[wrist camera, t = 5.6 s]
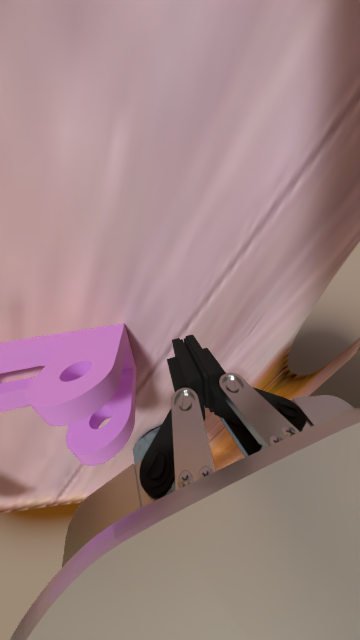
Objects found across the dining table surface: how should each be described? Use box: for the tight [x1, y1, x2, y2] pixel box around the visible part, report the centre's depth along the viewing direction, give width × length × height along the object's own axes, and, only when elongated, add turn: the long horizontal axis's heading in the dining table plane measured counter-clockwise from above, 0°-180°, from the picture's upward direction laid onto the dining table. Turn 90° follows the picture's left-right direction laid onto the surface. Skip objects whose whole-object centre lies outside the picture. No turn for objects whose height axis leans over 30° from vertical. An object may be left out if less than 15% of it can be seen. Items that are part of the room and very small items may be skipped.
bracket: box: [0, 323, 137, 466], centre depth 9 cm, size 13×6×7 cm, turn 93°
